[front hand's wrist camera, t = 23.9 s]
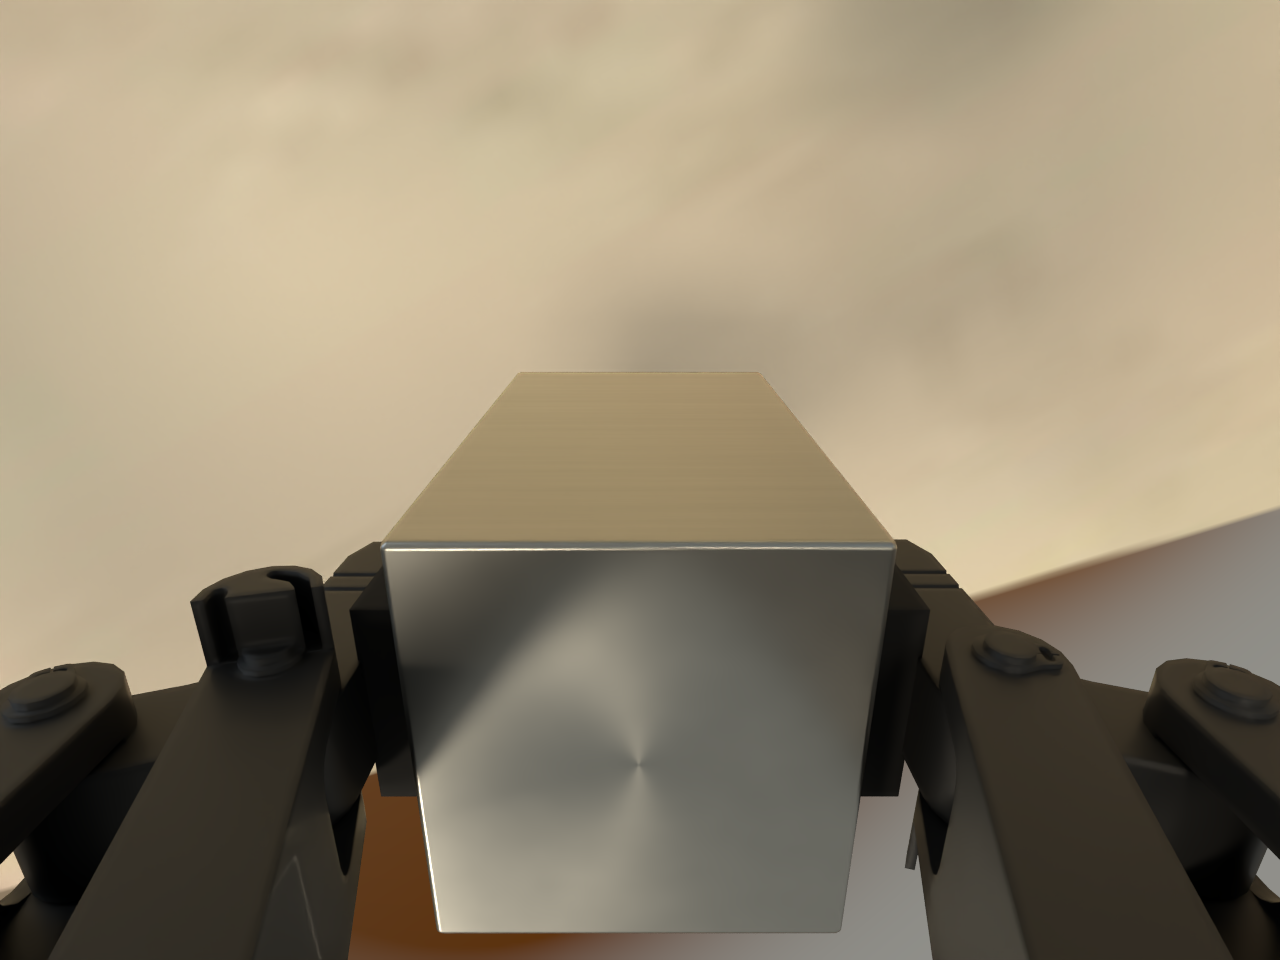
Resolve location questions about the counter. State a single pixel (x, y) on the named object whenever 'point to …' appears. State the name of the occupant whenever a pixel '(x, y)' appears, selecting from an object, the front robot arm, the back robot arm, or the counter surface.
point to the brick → (638, 660)
